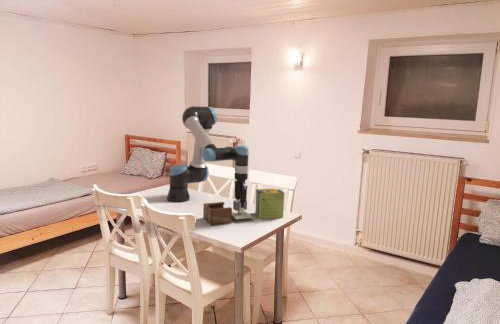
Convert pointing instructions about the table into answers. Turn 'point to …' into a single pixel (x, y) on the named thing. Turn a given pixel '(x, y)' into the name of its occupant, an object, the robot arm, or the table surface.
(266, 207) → the protein box
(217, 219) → the walnut box
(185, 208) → the table surface
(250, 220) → the rubber mat
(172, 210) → the table surface
